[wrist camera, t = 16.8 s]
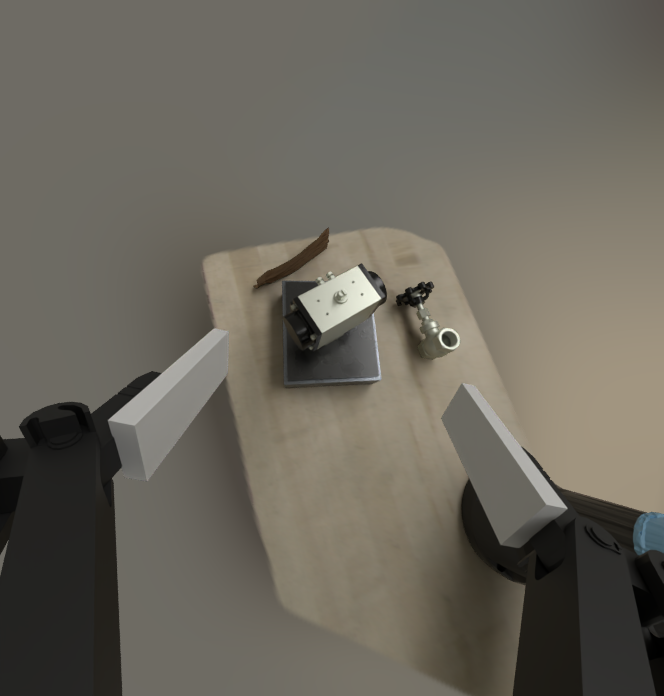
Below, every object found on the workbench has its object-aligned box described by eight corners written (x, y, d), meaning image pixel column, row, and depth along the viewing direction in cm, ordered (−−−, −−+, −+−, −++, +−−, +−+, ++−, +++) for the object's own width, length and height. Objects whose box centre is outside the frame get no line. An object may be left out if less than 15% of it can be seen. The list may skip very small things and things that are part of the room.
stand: (372, 383, 40) (382, 379, 36) (285, 388, 38) (283, 384, 33) (362, 294, 44) (370, 279, 40) (283, 294, 42) (281, 278, 37)
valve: (447, 355, 44) (420, 295, 46) (473, 345, 37) (439, 276, 40) (415, 366, 42) (389, 304, 45) (436, 358, 36) (404, 286, 38)
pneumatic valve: (368, 325, 37) (400, 285, 26) (302, 365, 34) (305, 340, 23) (348, 296, 38) (370, 245, 27) (281, 333, 35) (274, 293, 24)
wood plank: (321, 243, 46) (324, 223, 41) (329, 250, 46) (332, 231, 41) (254, 288, 42) (248, 271, 37) (261, 297, 42) (257, 281, 37)
